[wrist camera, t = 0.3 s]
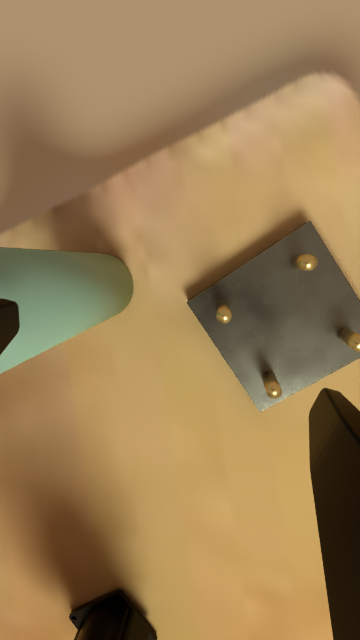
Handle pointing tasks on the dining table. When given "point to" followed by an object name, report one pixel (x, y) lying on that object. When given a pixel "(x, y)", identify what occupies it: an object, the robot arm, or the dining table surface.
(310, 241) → the plate
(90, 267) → the teal wooden post
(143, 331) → the dining table surface
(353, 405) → the robot arm
